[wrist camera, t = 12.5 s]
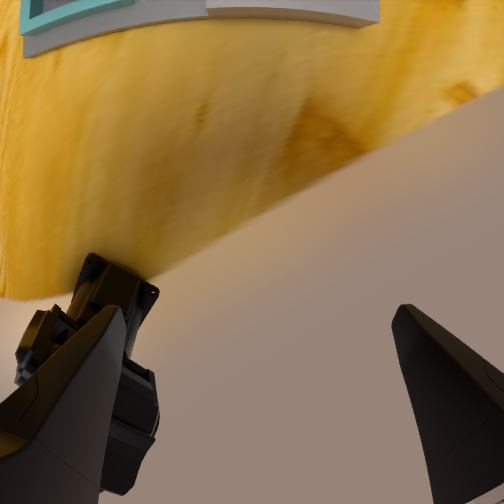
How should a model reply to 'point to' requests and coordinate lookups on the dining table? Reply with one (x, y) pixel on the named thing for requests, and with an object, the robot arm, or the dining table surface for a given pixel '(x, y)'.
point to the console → (168, 16)
